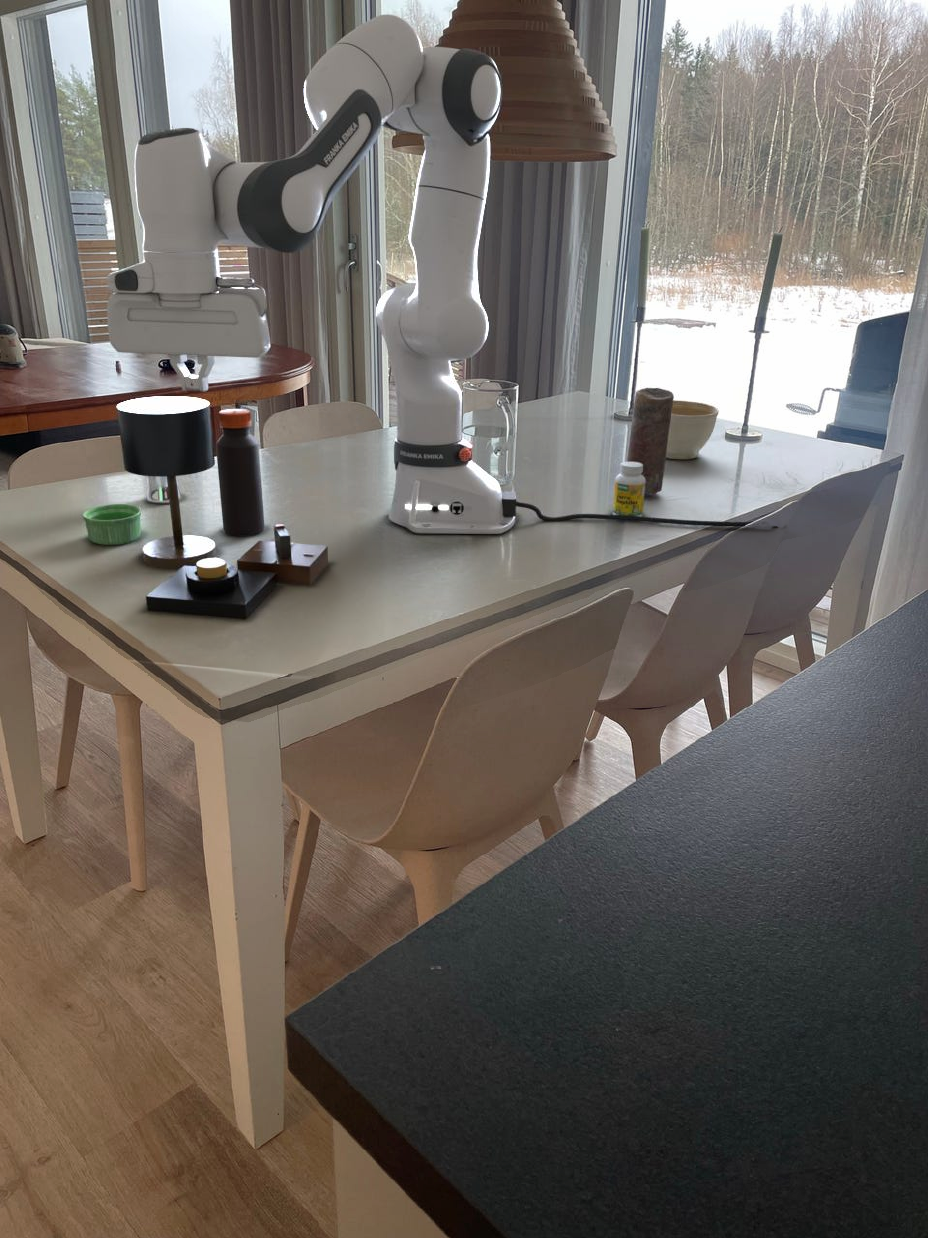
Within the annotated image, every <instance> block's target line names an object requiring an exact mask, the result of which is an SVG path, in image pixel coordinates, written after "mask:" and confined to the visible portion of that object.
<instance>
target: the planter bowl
mask: <svg viewBox="0 0 928 1238" xmlns="http://www.w3.org/2000/svg"><path fill="white" fill-rule="evenodd" d="M719 412H720V410H719V408H718V407H716V406H713V405H711V404H707V403H704V402H697V401H689V400H674V399H673V406H672V413H671V421H670V428H669V435H668V444H667V452H666V459H670V460H671V459H672V460H687V461H688V460H692V459H695V458H698V455H699V452H700V450H702V449H703V447H705V446H706V444H707V442H708V441H709V439H710V438H711V437H712V434H713V432H714V429H715V426H716V422H717V419H718V415H719Z"/></svg>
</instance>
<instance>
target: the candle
mask: <svg viewBox="0 0 928 1238" xmlns="http://www.w3.org/2000/svg"><path fill="white" fill-rule="evenodd" d="M674 398H675V396H674V393H673V392H672V391H671V390H668V389H664V388H661V387H644V388H640V389H638V390H637V391H636V392H635V394H634V400H633V401H634V402H633V408H632V409H633V410H632V420H631V425H630V435H629V441H628V442H629V443H628V452H627V456H626V457H627V458H626V462H638V463H641V464H643V471H642V473H641V475H643V476H644V477H645V480H646V482H645V493H644V497H650V496H653V495H657V493H660V492H662V490H663V483H664V476H665V469H666V468H665V467H666V460H667V458H666V452H667V444H668V435H669V428H670V421H671V413H672V406H673V400H674Z"/></svg>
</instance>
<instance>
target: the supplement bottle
mask: <svg viewBox="0 0 928 1238" xmlns="http://www.w3.org/2000/svg"><path fill="white" fill-rule="evenodd" d="M642 471H643V464H641V463H638V462H627V461H623V462H620V465H619V472H620V473H619V474H617V475H616V476H615V479H614V491H613V492H614V493H613V503H612V506H613V507H612V515H625V516H639V517H643V512H644V503H645V496H644V493H645V482H646V480H645V477H644V476H643V475H641V473H642Z"/></svg>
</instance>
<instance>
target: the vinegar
mask: <svg viewBox="0 0 928 1238" xmlns="http://www.w3.org/2000/svg"><path fill="white" fill-rule="evenodd" d="M218 416H219V418H218V419H219V426H220V430H221V431H222V435H221V436H220V437H219V438H218V440H216V443H215V450H216V451H215V452H216V453H215V454H216V461H217V463H216V464H217V473H218V486H219V497H220V507H221V508H220V509H221V517H222V519H221V520H222V527H223V528H222V529H223V532H224V533H225V534H227V535H230V536H233V537H248V536H254V535H258V534H261V533H262V532H263V531H264V530H265V528H266V527H265V514H264V499H263V486H262V485H263V484H262V472H261V457H260V444H259V441H258V440H257V439H256V438H255V436H253V435H252V434H251V430H250V429H251V428H252V416H251V410H249V409H245V408H227V409H223V410H220V411H219V412H218Z"/></svg>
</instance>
